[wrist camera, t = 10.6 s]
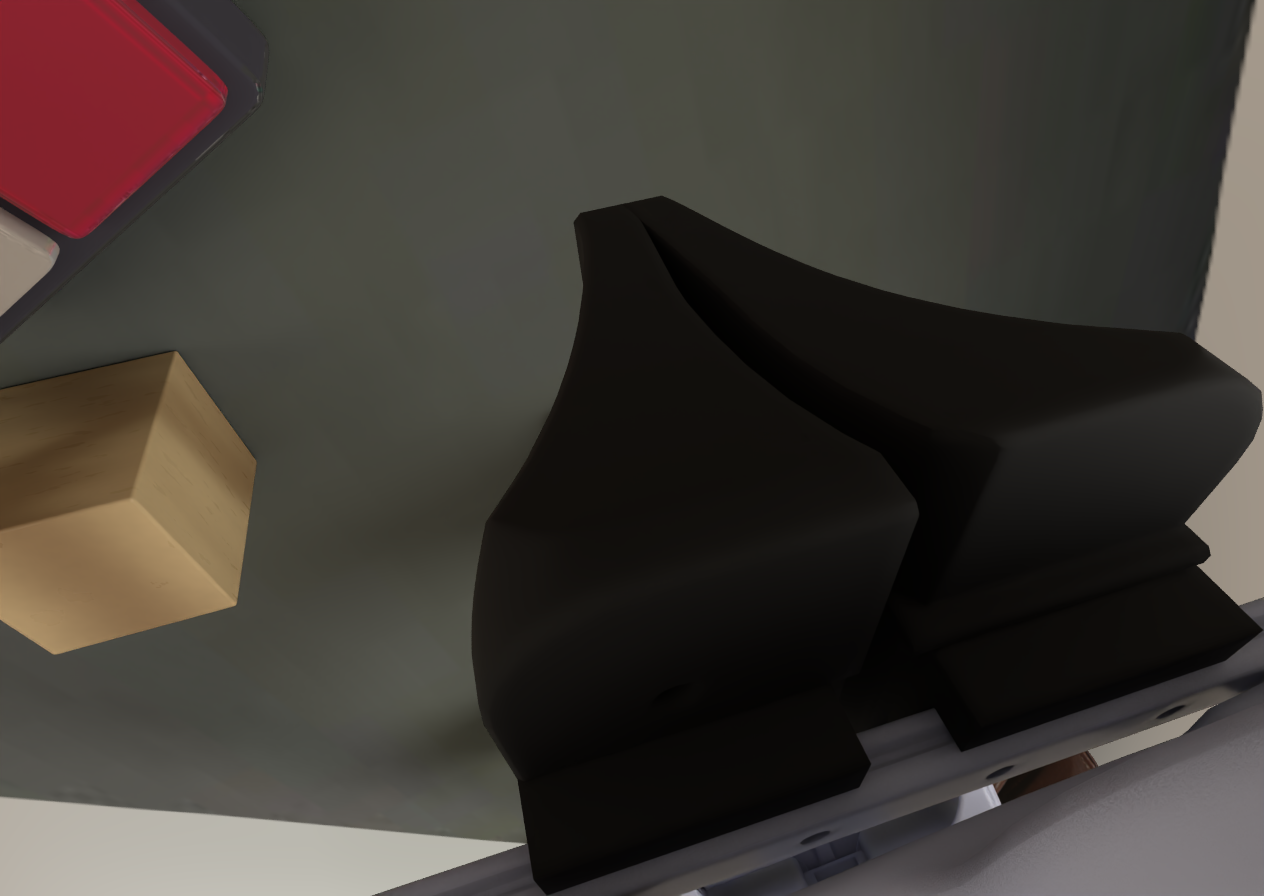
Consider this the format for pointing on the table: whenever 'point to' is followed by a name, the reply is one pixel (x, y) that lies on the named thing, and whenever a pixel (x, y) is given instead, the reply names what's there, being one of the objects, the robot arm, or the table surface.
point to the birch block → (118, 503)
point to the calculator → (107, 123)
